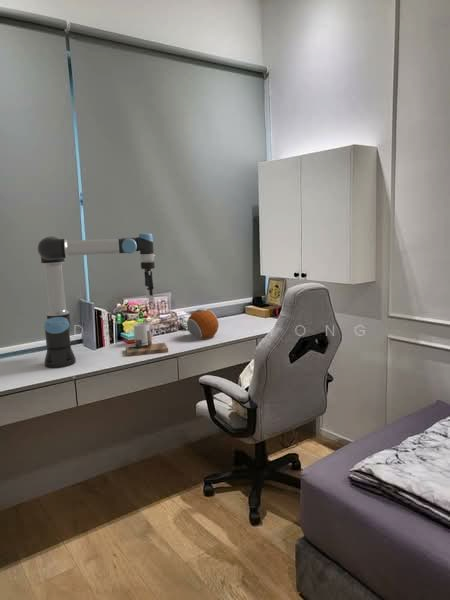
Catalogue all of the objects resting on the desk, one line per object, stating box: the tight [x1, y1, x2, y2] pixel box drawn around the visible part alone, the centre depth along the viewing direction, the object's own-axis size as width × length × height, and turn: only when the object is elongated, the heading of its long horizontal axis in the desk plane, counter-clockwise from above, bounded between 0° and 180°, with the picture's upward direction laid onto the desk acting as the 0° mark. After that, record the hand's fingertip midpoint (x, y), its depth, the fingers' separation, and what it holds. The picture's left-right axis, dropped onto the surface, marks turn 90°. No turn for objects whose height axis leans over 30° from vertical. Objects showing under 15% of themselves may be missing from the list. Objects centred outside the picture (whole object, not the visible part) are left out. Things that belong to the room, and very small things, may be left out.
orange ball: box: [186, 307, 220, 340], centre depth 291 cm, size 19×18×17 cm
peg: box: [127, 329, 153, 348], centre depth 263 cm, size 13×3×9 cm, turn 105°
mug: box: [133, 322, 155, 345], centre depth 282 cm, size 12×9×11 cm
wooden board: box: [125, 342, 169, 357], centre depth 264 cm, size 22×13×2 cm, turn 105°
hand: (150, 299), depth 266 cm, fingers open, 13 cm apart
